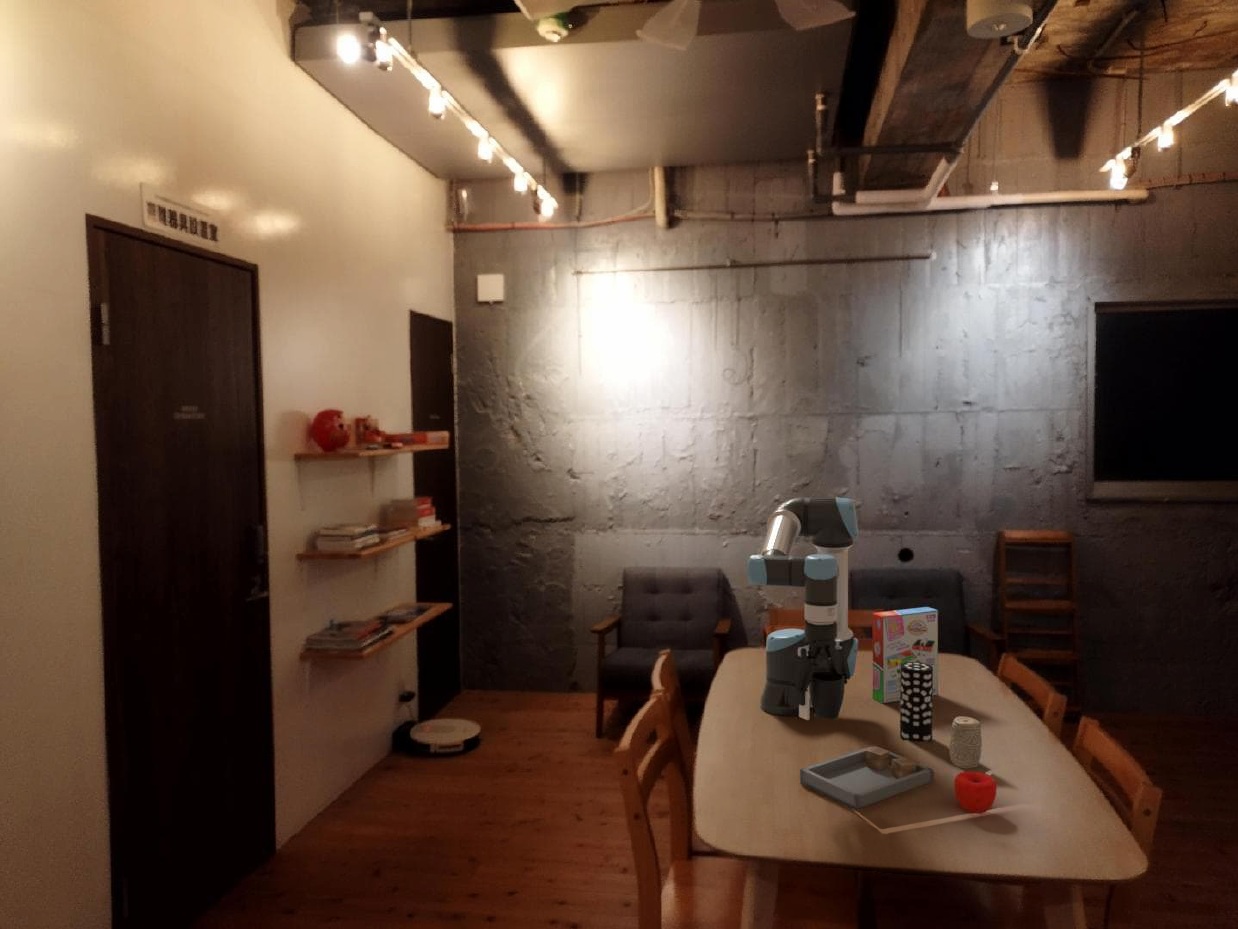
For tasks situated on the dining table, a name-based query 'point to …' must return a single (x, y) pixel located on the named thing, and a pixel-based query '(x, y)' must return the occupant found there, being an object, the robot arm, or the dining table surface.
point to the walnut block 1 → (877, 758)
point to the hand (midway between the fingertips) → (820, 713)
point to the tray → (860, 779)
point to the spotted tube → (916, 701)
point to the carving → (965, 742)
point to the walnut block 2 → (902, 767)
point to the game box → (902, 648)
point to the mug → (826, 694)
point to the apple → (975, 791)
